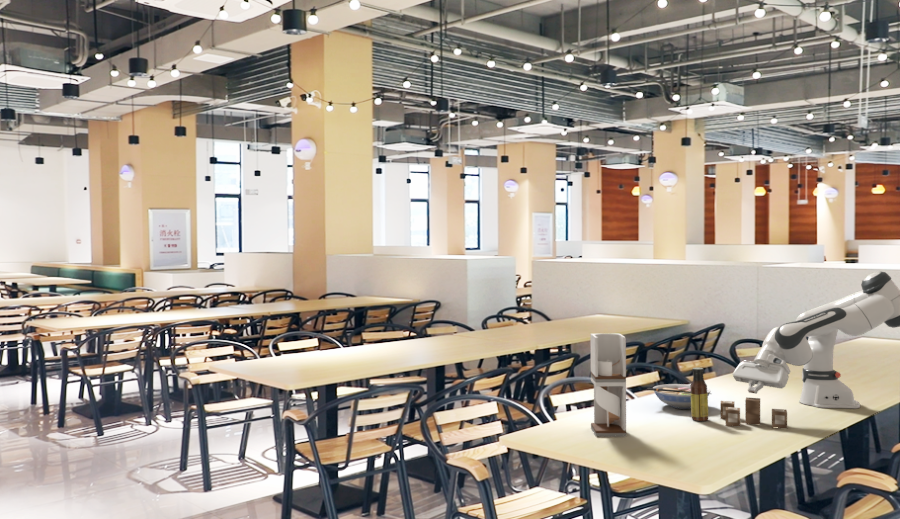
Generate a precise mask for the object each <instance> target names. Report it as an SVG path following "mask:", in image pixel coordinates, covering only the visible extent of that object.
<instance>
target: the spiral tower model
mask: <svg viewBox="0 0 900 519" xmlns="http://www.w3.org/2000/svg"><path fill="white" fill-rule="evenodd" d="M589 341H590V381H591V383H592V384H593V415H594V416H593V417H594V418H593V422H591V424H590V429H591V431H592V432H594V433H593V434H594V436H595V437H596V436H599V437H627V343H626V342H627V340H626V336H624V335H623V334H621V333H619V332H618V333H617V332H616V333H615V332H613V333H612V332H611V333H605V332H604V333H600V332H599V333H590V339H589Z"/></svg>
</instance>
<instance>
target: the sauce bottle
mask: <svg viewBox="0 0 900 519" xmlns="http://www.w3.org/2000/svg"><path fill="white" fill-rule="evenodd" d="M704 371H705V370H704V368H703V367H692V377H693V378H692V381H691V383H690V384H689V385H690V387H691V408H690V411H691V414H690V415H691V420H693V421H694V420H695V422H706V421H708V420H709V400H708V399H709V396H708V393H707V388H708V385H707V383H706V381H705V380H704Z"/></svg>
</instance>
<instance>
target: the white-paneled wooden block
mask: <svg viewBox="0 0 900 519" xmlns="http://www.w3.org/2000/svg"><path fill="white" fill-rule="evenodd" d="M725 426H726V427H734V426H740V427H741V408H740V407H734V408H733V407H726V419H725Z"/></svg>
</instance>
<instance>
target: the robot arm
mask: <svg viewBox="0 0 900 519" xmlns="http://www.w3.org/2000/svg"><path fill="white" fill-rule="evenodd" d="M861 281H862V282H861V290H859V291H856V292H854V293H851V294H849V295H848V294H847V295H846V296H843V297H841V298H839V299H835V300H833V301H831V302H827V303H825V304H822V305H820V306H817V307H813V308H812V309H808V310H806V311H804V312H802V313H801V314H799V315H798V316H797V317H796V318H795V321H791V322H789V321H788V322H786V323H783V324H781V325H780V326H776V327H774V328H772V329H771V330H770V331H769V332H768V333H767V335H766V336H765V338H764V340H763V342H762V345H761V348H760V349H759V350H758V352H757V354H756V355H755V357H754V359H753V360H747V359H745V360H743V361H740V362H739V364H738V365H737V366H736V368H735V369H734V370H733V373H732V377H733V379H734V380H735V381H736V382H740V383H745V384H748V389H747V391H748V393H749V394H758V392H759V391H761V390H762V389H763V388H764V387H769V388H777V389H783V388H785V387H786V385H787V383H788V381H789V377H790V376H789V375H790V373H791V368H790V367H789V365H792V366H795V367H797V366H798V367H801V366H802V367H803V368H802V372H801V379H802V389H801V393H800V397H799V403H801V404H803V405H808V406H813V407H816V408H822V409H823V408H824V409H825V408H826V409H828V408H829V409H830V408H831V409H859V408H860V407H861V404H860V401H857V400H855V396H854V392H853V390H852V389H851V388H850V386H848V385H847V384H846V383H844V382H843V381H841V380H840V377H841V373H840V372H839V371H836V370H835V369H834V350H835V344H836V341H837V340H836V339H837V335H838V331H841V332H842V333H843V334H845V335H847V336H850V337H851V336H852V337H859V336H862V335H865V334H867V333H868V332H870V331H872V330H874V329H876V328H877V327H879V326H880V325H882V324H885V325H886V326H887V327H890V328H893V329H894V328H899V327H900V289H899V287H898V285H896V283H895V282H894V281H893V280H892V277H891V276H890V275H889V273H887V272H886V271H876V272H872V273H869V274H868V275H867V276H866V277H865V278H863V279H862V280H861ZM807 337H808V338H807ZM788 364H789V365H788ZM755 385H756V386H755Z"/></svg>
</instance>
